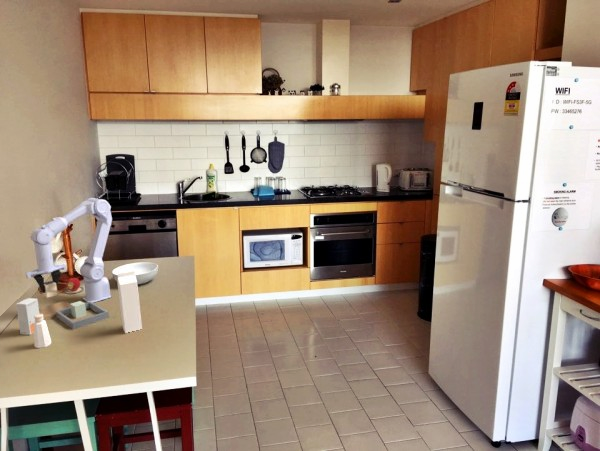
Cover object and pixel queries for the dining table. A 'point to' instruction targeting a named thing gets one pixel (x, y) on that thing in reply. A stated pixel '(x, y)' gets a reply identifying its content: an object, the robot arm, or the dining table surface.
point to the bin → (102, 315)
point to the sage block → (78, 309)
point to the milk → (129, 301)
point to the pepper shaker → (41, 332)
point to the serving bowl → (138, 271)
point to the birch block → (50, 289)
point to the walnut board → (53, 309)
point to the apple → (73, 286)
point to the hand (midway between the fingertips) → (49, 290)
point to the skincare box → (27, 315)
